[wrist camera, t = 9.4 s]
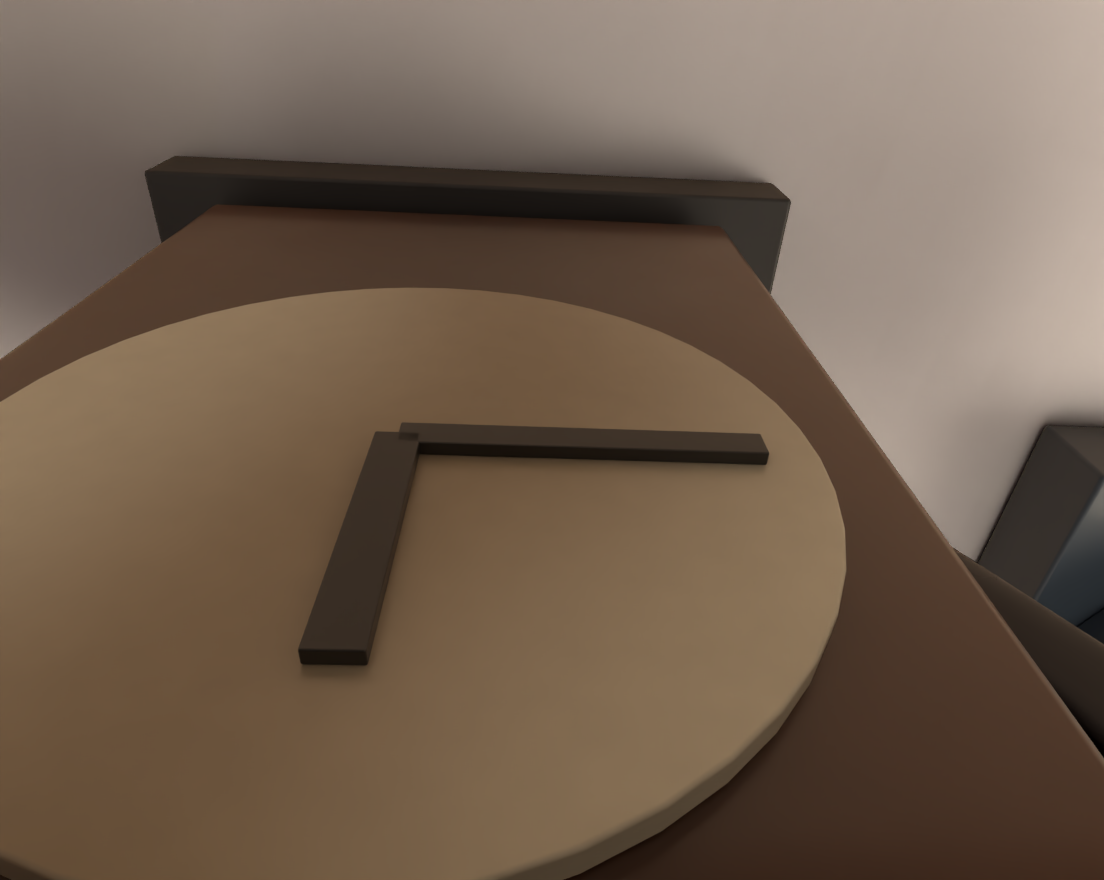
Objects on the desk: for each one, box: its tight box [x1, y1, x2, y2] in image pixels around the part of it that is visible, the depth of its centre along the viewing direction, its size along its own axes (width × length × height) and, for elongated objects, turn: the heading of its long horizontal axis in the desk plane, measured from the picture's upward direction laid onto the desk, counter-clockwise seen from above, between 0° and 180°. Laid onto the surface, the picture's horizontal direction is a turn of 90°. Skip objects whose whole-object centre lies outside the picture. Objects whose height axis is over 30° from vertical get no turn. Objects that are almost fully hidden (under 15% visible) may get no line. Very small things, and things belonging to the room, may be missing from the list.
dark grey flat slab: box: [145, 156, 791, 294], centre depth 15 cm, size 9×16×1 cm, turn 177°
